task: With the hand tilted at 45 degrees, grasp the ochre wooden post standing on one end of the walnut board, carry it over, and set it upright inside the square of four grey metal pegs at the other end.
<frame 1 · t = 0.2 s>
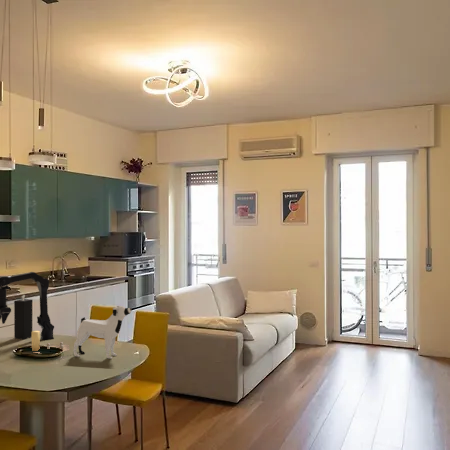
hand: (1, 322, 281), 15 cm above the table, tool pointing down, fingers open, 9 cm apart
decorative sculpture: (103, 357, 259), on the table
post: (35, 350, 267), point 1 cm above the table, touching board
board: (45, 351, 269), on the table
black square column: (23, 338, 302), on the table
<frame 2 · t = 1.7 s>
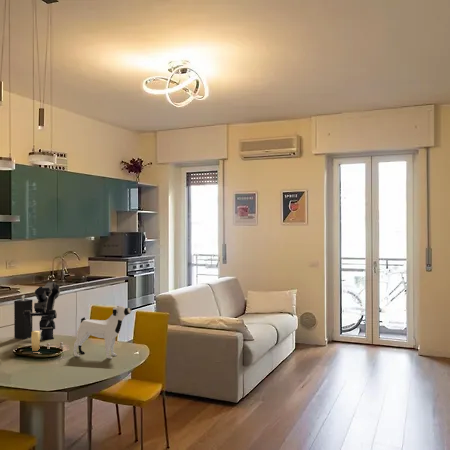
hand: (37, 326, 275), 13 cm above the table, tool tilted 45°, fingers open, 9 cm apart
nothing on the table moved.
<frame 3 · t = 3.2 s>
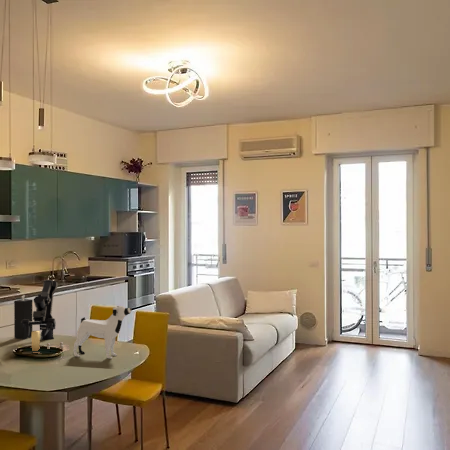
hand: (36, 335, 269), 9 cm above the table, tool tilted 45°, fingers open, 9 cm apart
nothing on the table moved.
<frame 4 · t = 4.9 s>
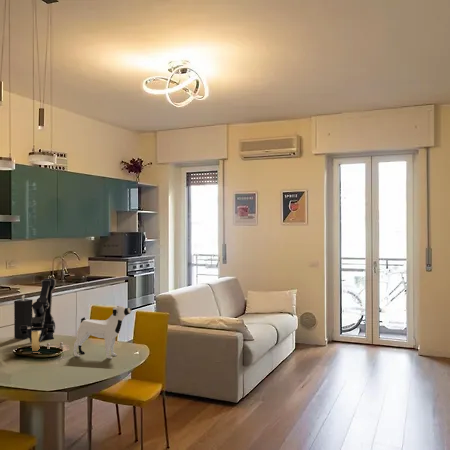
hand: (35, 341, 266), 7 cm above the table, tool tilted 45°, fingers closed on post, 4 cm apart
post: (35, 350, 267), point 1 cm above the table, touching board, gripper
everything else where it was.
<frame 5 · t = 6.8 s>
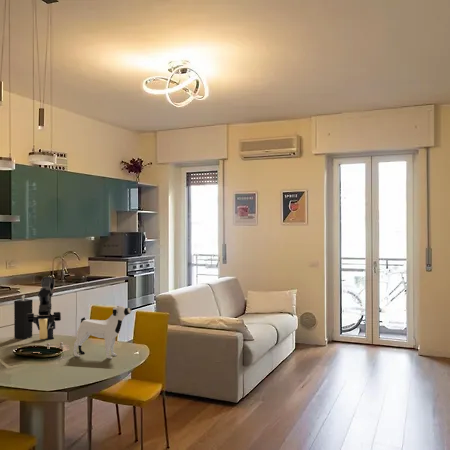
hand: (43, 329, 267), 13 cm above the table, tool tilted 45°, fingers closed on post, 4 cm apart
post: (43, 338, 268), point 8 cm above the table, touching gripper
everything else where it was.
when the fingers open (8 cm above the table, at t = 9.0 s): post drops 1 cm, resting on board.
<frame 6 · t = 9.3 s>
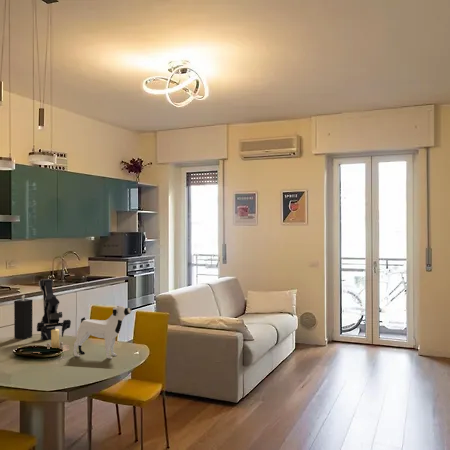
hand: (55, 337, 270), 8 cm above the table, tool tilted 45°, fingers open, 8 cm apart
post: (55, 348, 271), point 1 cm above the table, touching board
everything else where it was.
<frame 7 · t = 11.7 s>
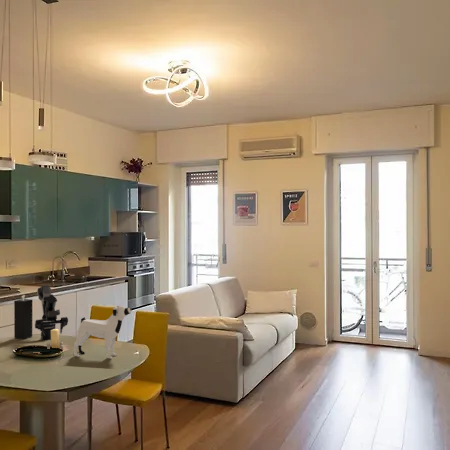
hand: (53, 334, 278), 8 cm above the table, tool tilted 45°, fingers open, 9 cm apart
nothing on the table moved.
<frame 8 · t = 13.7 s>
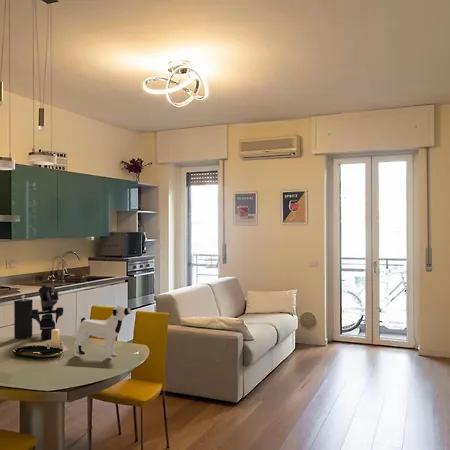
hand: (48, 324, 281), 14 cm above the table, tool tilted 45°, fingers open, 9 cm apart
nothing on the table moved.
at the end: post 0.0 cm from the target spot, point 1.3 cm above the table; post tilted 1°; the gripper is holding nothing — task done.
